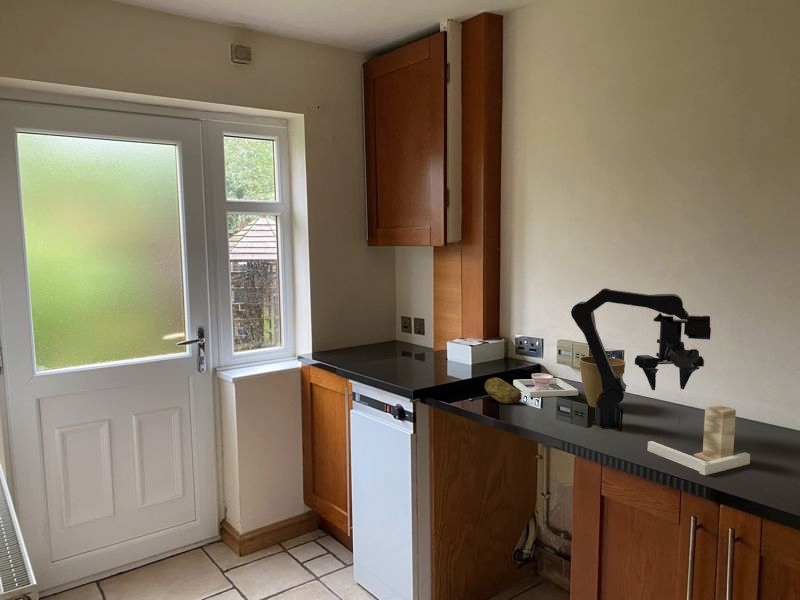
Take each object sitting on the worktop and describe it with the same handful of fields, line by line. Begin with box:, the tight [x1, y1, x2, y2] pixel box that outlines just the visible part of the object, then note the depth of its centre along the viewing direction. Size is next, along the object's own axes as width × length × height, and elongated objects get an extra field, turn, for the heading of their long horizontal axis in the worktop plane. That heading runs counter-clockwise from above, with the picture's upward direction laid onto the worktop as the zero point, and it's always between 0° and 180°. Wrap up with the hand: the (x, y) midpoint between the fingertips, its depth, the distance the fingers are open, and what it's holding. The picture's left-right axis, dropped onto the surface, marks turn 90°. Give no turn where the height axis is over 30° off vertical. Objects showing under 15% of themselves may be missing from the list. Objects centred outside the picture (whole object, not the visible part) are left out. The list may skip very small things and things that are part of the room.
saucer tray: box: [512, 377, 579, 398], centre depth 223 cm, size 18×18×2 cm
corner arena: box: [647, 440, 751, 476], centre depth 154 cm, size 18×17×2 cm
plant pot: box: [579, 355, 626, 409], centre depth 201 cm, size 15×15×16 cm
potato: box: [484, 377, 522, 404], centre depth 207 cm, size 8×13×8 cm, turn 39°
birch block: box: [702, 404, 737, 460], centre depth 153 cm, size 5×5×13 cm
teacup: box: [527, 373, 557, 391], centre depth 221 cm, size 12×12×6 cm
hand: (667, 389), depth 173 cm, fingers open, 9 cm apart
